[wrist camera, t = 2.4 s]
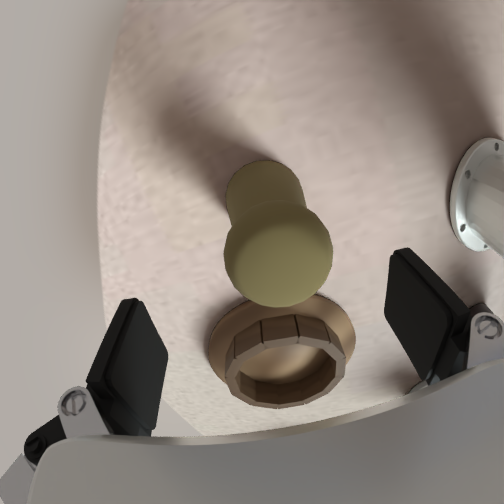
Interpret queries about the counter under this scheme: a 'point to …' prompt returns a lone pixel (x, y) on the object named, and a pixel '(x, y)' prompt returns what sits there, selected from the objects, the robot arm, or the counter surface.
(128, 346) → the robot arm
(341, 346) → the collar stand
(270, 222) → the olive knobbed pestle
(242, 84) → the counter surface
